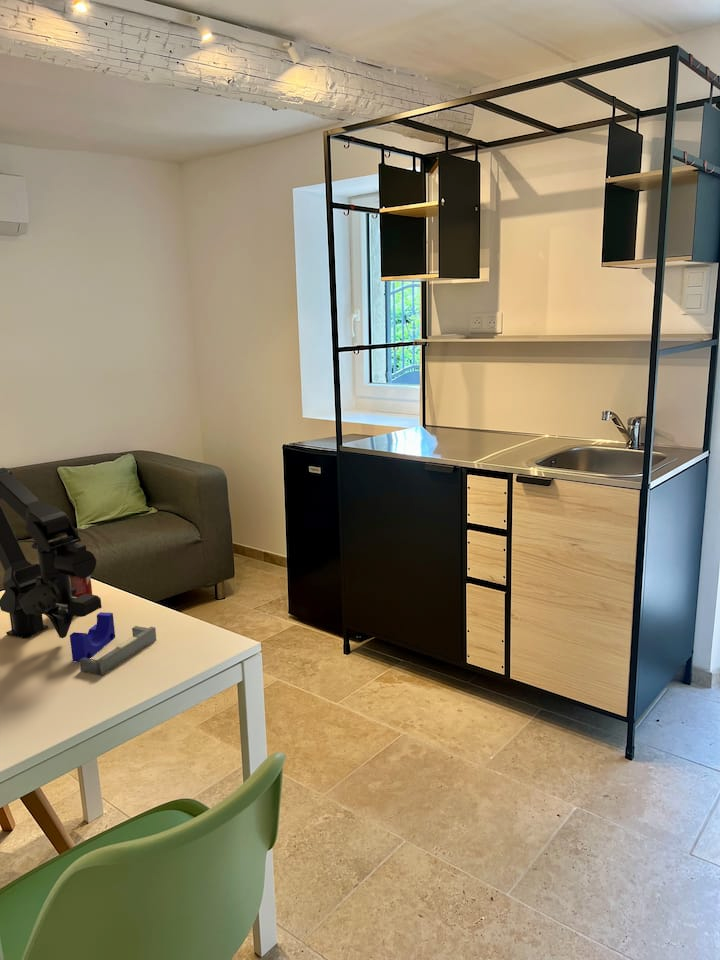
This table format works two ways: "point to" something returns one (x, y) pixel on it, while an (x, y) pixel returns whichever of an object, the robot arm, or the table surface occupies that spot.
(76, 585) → the soda can
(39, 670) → the table surface
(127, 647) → the stop bracket
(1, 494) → the robot arm
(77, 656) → the cable clip
